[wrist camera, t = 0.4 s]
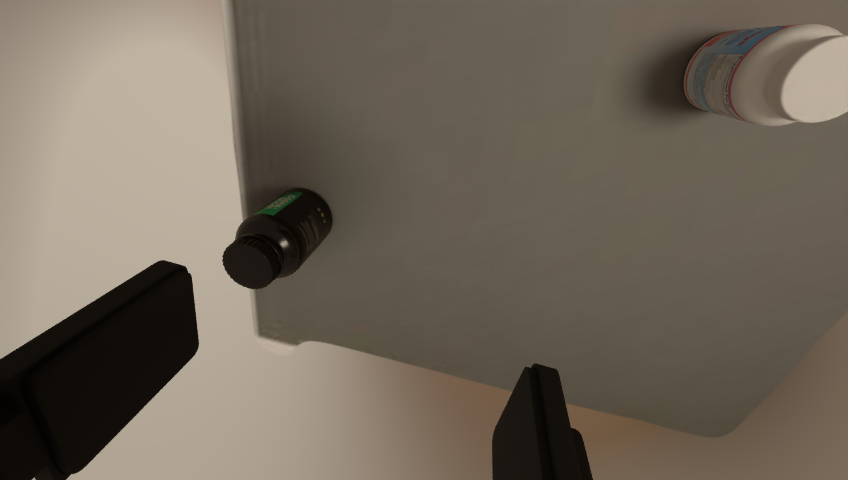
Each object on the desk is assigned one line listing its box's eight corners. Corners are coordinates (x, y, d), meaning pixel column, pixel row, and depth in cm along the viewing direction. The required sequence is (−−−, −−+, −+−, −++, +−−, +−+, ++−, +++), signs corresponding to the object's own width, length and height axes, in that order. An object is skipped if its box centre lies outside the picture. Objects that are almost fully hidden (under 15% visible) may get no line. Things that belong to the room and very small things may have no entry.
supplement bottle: (288, 176, 41) (219, 218, 31) (342, 206, 42) (293, 257, 31) (271, 223, 44) (204, 276, 34) (322, 250, 45) (271, 310, 34)
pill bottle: (776, 29, 29) (928, 16, 19) (746, 111, 32) (865, 137, 22) (692, 31, 30) (795, 19, 20) (670, 110, 32) (750, 134, 22)
